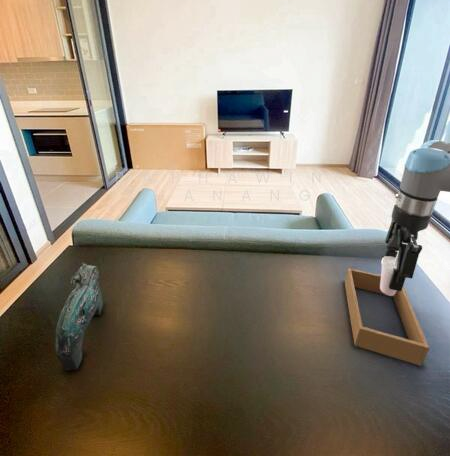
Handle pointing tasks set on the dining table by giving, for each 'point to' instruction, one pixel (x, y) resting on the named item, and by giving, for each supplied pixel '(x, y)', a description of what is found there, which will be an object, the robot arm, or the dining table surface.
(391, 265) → the smoothie
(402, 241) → the robot arm
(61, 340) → the dark teal curved piece
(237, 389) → the dining table surface
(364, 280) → the wooden box
